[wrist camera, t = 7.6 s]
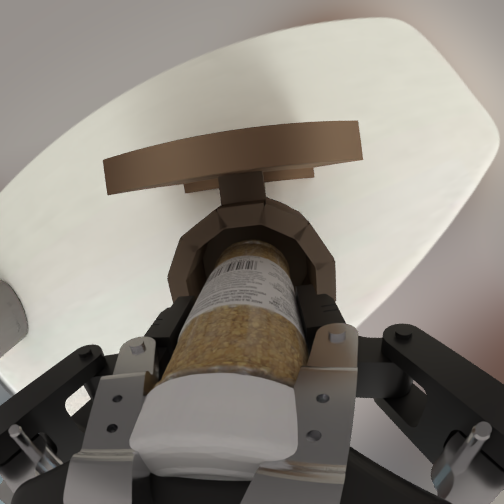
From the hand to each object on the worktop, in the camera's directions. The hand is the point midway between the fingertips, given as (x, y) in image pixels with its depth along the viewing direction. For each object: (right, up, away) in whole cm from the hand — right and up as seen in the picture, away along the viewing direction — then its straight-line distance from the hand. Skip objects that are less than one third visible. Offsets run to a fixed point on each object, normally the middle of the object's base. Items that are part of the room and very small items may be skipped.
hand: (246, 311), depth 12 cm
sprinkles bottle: (0, +1, +5) cm, 5 cm away
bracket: (0, +5, +10) cm, 11 cm away
